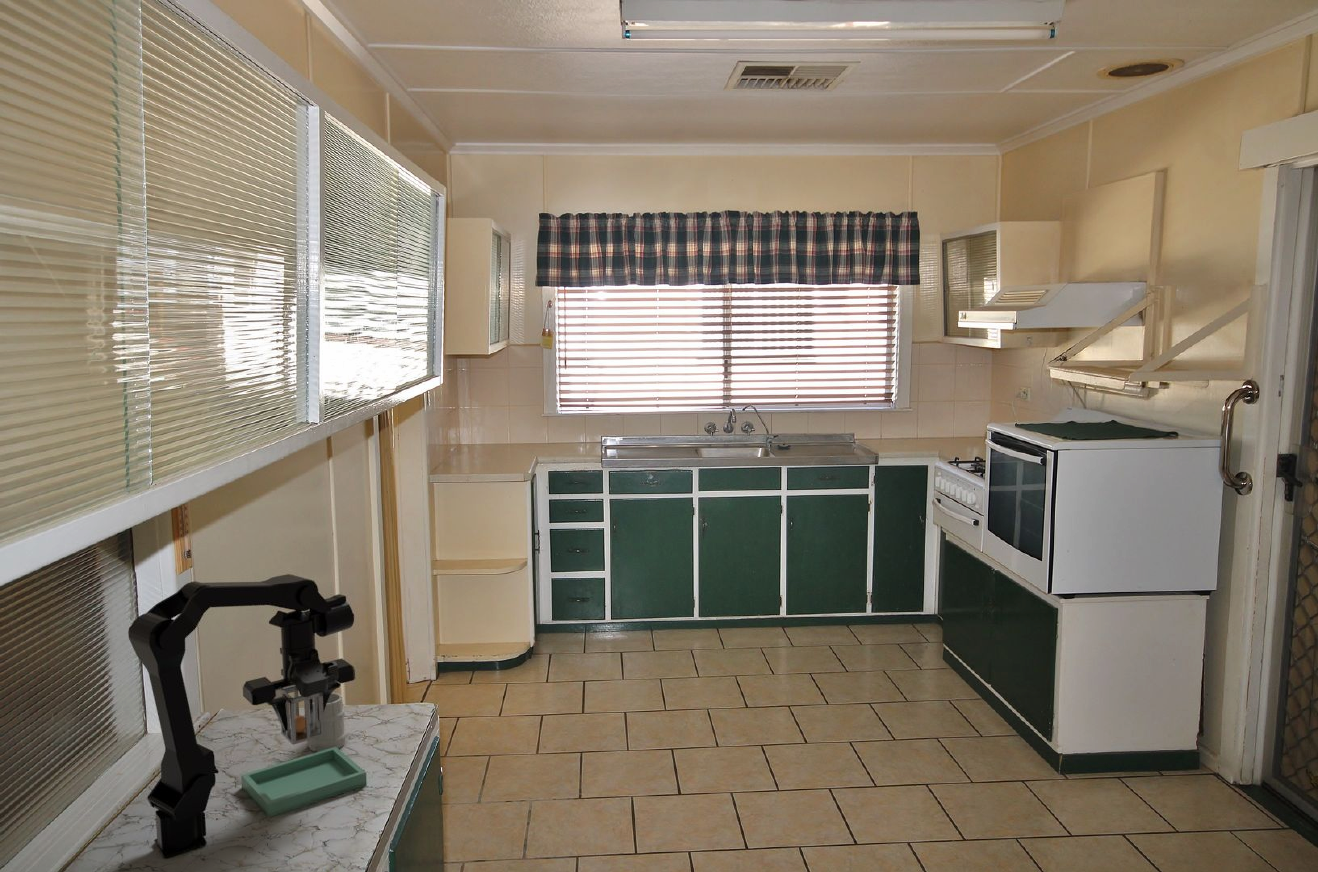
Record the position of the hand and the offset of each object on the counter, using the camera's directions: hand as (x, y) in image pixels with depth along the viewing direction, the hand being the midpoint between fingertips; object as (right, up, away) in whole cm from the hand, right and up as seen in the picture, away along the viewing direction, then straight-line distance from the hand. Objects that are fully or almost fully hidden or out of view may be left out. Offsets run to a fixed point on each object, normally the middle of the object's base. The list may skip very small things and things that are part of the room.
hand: (302, 725), depth 176 cm
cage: (0, -2, 0) cm, 2 cm away
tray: (0, -12, +2) cm, 12 cm away
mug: (-3, -10, +21) cm, 23 cm away
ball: (0, 0, 0) cm, 0 cm away
